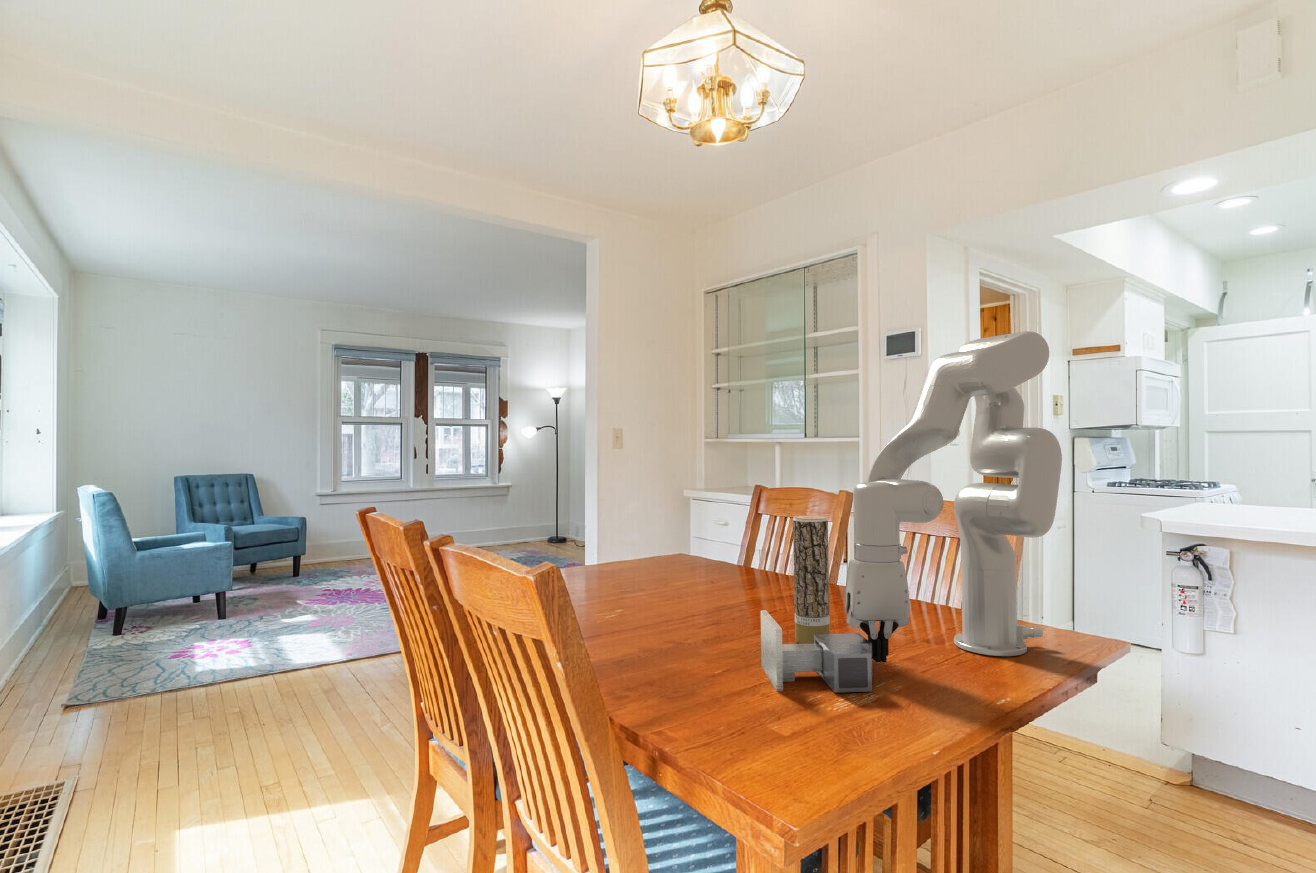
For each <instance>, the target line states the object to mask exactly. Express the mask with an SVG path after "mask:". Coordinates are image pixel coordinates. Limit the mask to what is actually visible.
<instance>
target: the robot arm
mask: <svg viewBox="0 0 1316 873" xmlns="http://www.w3.org/2000/svg"><path fill="white" fill-rule="evenodd" d="M1049 359H1050V347H1049V344H1048V342H1047V341H1046V339H1045V338H1044V337H1043V335H1041V334H1039V333H1037V332H1035V331H1031V330H1030V331H1028V330H1027V331H1026V330H1025V331H1020V332H1019V331H1018V332H1013V333H1006V334H1000V335H993V336H989V337H982V338H978V339H973V340H970V341H968V342H965V343H964V344H962V345H961V346H959V348H958V349H957V351H955V352H950V353H945V354H943V355H940V356H939V357H936V359H934V360H933V361H932V363H931V364H930V366H929V368H928V371H927V373H926V376H925V379H924V381H923V384H922V387H921V390H920V392H919V396H918V398H917V400H916V402H915V406H914V408H913V411H912V414H911V417H910V420H909V422H908V423H907V424H906V426H905V427H903V428H902V429H901V430H899V432H898V433H897V434H896V435H894V437H892V439H890V440H889V442H888V443H887V444H886V445H885V446H884V447H883V448H882V449H881V450H880V451H879V453H878V454H877V456H876V457H875V458H874V461H873V463H872V465H871V467H870V470H869V474H868V475H867V479H866V482H859V483H857V484H856V485H855V487H854V488H853V498H852V499H853V549H854V550H853V551H854V554H853V555H854V556H853V557H854V558H853V559H850V560H849V562H848V566H847V571H846V572H847V573H846V582H845V590H844V591H845V592H844V611H845V613H846V614H847V617H846V625H847V626H849V627H851V628H856V629H860V630H862V631H863V632H864V633H865V634H866V635H867V640H868V641H869V642H870V643H872V661H874V662H875V663H887V660H888V658H887V657H888V656H889V652H890V650H889V649H890V648H889V639H891V638H892V634H893V633H894V632H896V630H897V629H898V628H902V627H906V626H909V625H910V619H909V617H910V611H911V607H910V606H911V605H910V603H911V602H910V592H909V584H908V578H907V572H906V567H905V564H904V562H903V561H902V560H901V559H902V556H903V555H907V554H908V547H907V546H903V545H902V544H901V543H900V542H901V540H900V537H901V536H900V534H901V533H900V524H901V523H913V524H925V523H930V522H933V520H935V519H937V518H938V517H939V516H940V514H941V513H942V511H943V508H944V502H945V501H944V496H943V494H942V491H940V489H939V488H938V487H937V486H935V485H934V484H932V483H930V482H928V481H925V480H915V479H902V478H903V475H904V474H905V472H906V471H907V470H908V469H909V468H910V467H911V465H913V464H914V463H915V462H916V461H918V460H919V459H921V458H924V457H925V456H927V455H929V454H931V453H933V452H936V451H937V450H940V449H942V448H943V447H945V446H948V445H949V444H951V443H953V442H954V440H956V438H957V436H958V435H959V432H960V431H959V430H960V427H961V426H962V421H963V419H964V416H965V413H966V411H967V407H968V405H969V402H970V399H971V398H972V397H973V398H974V402H975V417H974V425H973V429H972V430H973V432H972V438H971V444H970V445H971V446H970V454H969V457H970V458H969V459H970V460H969V461H970V465H971V468H972V470H973V471H974V472H976V473H978V475H981V476H985V477H993V478H1005V479H1006V478H1007V479H1008V478H1011V479H1018V484H1011V483H1009V484H1008V483H1007V484H1006V483H998V482H997V483H995V482H994V483H993V482H975V483H970V484H968V485H965V486H964V487H962V488H961V489H960V490H958V492H957V494H956V496H955V497H954V501H953V502H954V503H953V510H954V515H955V516H954V517H955V521H956V524H957V525H956V526H957V528H958V534H959V542H960V543H959V544H960V563H961V564H960V571H961V572H960V576H961V578H960V579H961V581H960V582H961V584H960V585H961V586H960V587H961V622H962V623H961V624H962V625H961V627H962V631H961V632H960V633H957V634H955V635H954V637H953V642H954V644H955V646H957V647H958V648H960V649H962V650H964V651H968V652H970V653H974V654H980V655H985V656H994V657H1015V656H1016V657H1017V656H1022V655H1024V654H1026V653H1027V651H1028V645H1027V643H1026V642H1025V641H1026V640H1027V639H1028V638H1033V639H1036V638H1037V639H1041V638H1043V636H1044V632H1043V629H1042V628H1041V627H1037V626H1035V627H1028V626H1027V625H1023V624H1022V625H1021V624H1019V623H1018V608H1017V607H1018V606H1017V605H1018V602H1017V598H1018V597H1017V558H1016V553H1015V550H1014V548H1013V546H1012V543H1011V542H1010V540H1009V539H1008V537H1007V536H1013V537H1021V538H1032V539H1033V538H1039V537H1043V536H1045V535H1046V534H1047V533H1048V532H1049V531H1050V530H1051V528H1052V526H1053V524H1054V520H1055V518H1056V512H1057V503H1058V496H1059V488H1060V481H1061V474H1062V473H1061V471H1062V464H1063V463H1062V462H1063V455H1062V448H1061V445H1060V442H1059V440H1058V438H1057V436H1056V435H1055V434H1054V433H1053V432H1051V431H1050V430H1048V429H1046V428H1041V427H1024V421H1025V420H1024V417H1025V403H1024V400H1023V398H1022V396H1021V395H1020V393H1019V391H1018V390H1017V389H1016V387H1018V386H1020V385H1021V384H1024V383H1026V382H1027V381H1029V380H1032V379H1033V378H1035V377H1037V376H1039V375H1040V374H1041V373H1043V371H1044V370H1045V368H1046V366H1047V365H1048V362H1049ZM876 622H879V624H878V627H877V623H876ZM877 628H878V629H877ZM1024 640H1025V641H1024Z"/></svg>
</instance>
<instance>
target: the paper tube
mask: <svg viewBox="0 0 1316 873" xmlns="http://www.w3.org/2000/svg"><path fill="white" fill-rule="evenodd" d="M792 518H793V519H792V529H793V530H792V532H793V533H792V534H793V535H792V536H793V537H792V538H793V542H792V543H793V587H794V588H793V592H794V594H793V595H794V597H793V598H794V599H793V600H794V601H793V602H794V604H793V605H794V640H795V641H796V642H797V644H814V635H815V634H831V632H830V628H831V627H830V623H831V622H830V618H831V617H830V615H831V614H830V572H829V571H830V570H829V568H830V567H829V564H830V563H829V558H830V557H829V521H828V520H829V519H828V518H829V517H827V516H822V515H796V516H793V517H792Z"/></svg>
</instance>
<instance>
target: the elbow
mask: <svg viewBox="0 0 1316 873" xmlns="http://www.w3.org/2000/svg"><path fill="white" fill-rule="evenodd" d="M815 643H819V644H820V645H821V646H822V647H823V661H824V671H821V672H817V674H818V675H819V676H820V677H821V679H823V681H824V682H825V683H826V685H828V686H829V687H830V689H831V690H832V691H833V693H856V692H857V693H858V692H873V687H872V686H873V684H872V683H873V682H872V681H873V659H872V643H870V642H869V641H868V638H866V637H864V636H863V635H862V634H861V633H859V632H857V633H855V632H853V633H852V632H851V633H830V634H815V635H814V644H815Z"/></svg>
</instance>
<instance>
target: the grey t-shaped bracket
mask: <svg viewBox="0 0 1316 873" xmlns="http://www.w3.org/2000/svg"><path fill="white" fill-rule="evenodd" d="M760 648H761V650H760V654H761V655H760V656H761V663H760V664H761V666H760V667H761V668H762V670H763V671H764V673H765V674H766V676H767V678H768V679H769V681H770V683H771V684H772V686H773V687H774V690H776V692H784V683H785V682H796V679H795V678H796V676H795V673H813V672H814V673H815V672H816V673H818V672H821V671H824V661H823V647H822V646H821V645H820V644H819V643H815V644H799V643H789V644H788V643H787V644H786V643H785V644H783V629H782V627H781V626H780V625H779V623H778V622H777V621H776V620H775V619H774V618H773V617H772V616H771V614H770V613H769V612H768V611H767V610H765V609H762V610H760Z"/></svg>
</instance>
